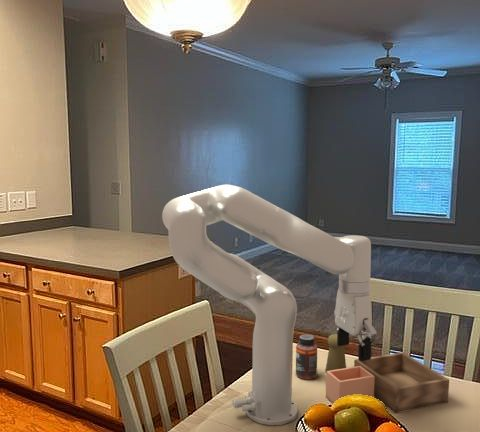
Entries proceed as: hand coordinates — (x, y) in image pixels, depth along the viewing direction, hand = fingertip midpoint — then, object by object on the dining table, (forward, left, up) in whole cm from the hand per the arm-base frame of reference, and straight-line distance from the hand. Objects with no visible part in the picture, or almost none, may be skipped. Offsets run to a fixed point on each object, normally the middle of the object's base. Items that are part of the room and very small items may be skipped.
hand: (353, 352), depth 122 cm
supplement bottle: (-5, +16, -13) cm, 21 cm away
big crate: (+14, 0, -13) cm, 19 cm away
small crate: (-1, 0, -13) cm, 13 cm away
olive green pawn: (+4, +15, -13) cm, 20 cm away
